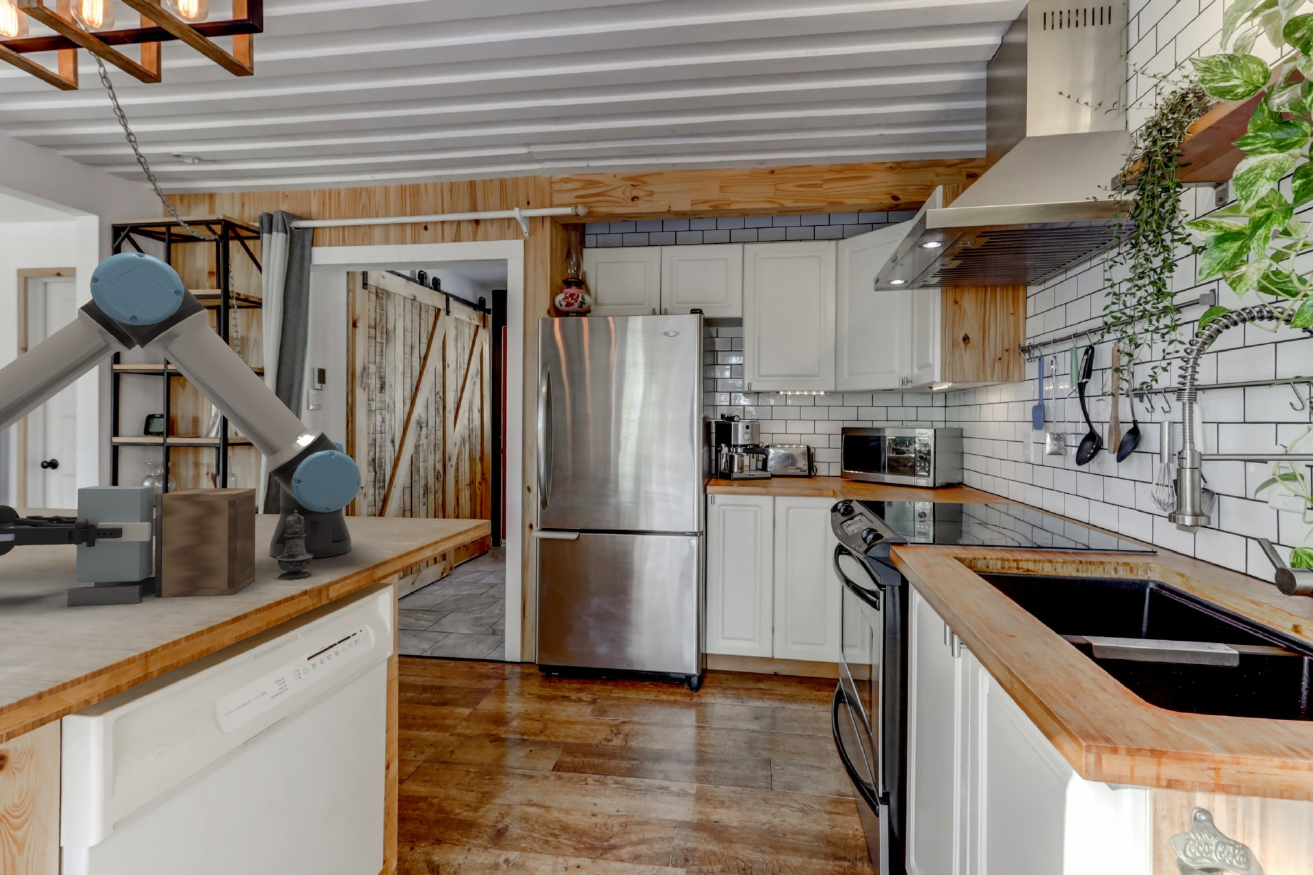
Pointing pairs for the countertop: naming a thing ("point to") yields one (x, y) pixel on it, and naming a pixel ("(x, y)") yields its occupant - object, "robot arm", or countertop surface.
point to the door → (115, 556)
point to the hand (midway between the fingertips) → (157, 529)
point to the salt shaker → (294, 550)
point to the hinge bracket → (111, 592)
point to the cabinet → (204, 541)
